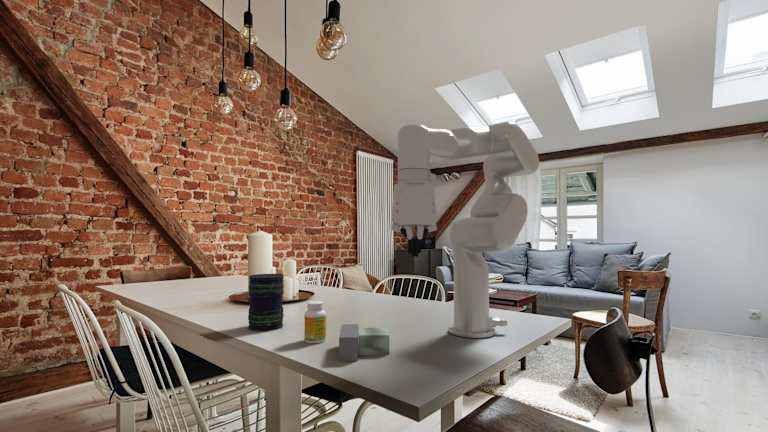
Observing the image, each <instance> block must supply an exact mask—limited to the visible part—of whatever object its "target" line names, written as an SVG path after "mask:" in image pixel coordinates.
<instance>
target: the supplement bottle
mask: <svg viewBox="0 0 768 432" xmlns="http://www.w3.org/2000/svg"><path fill="white" fill-rule="evenodd" d="M306 308H307V309H308V310H306V311H305V312H304V337H303V338H304V342H305V343H307V344H321V343H324V342H326V340H327V339H326V337H327V313H326V311H325V310H324V301H321V300H320V301H319V300H312V301H308V302H307V307H306Z"/></svg>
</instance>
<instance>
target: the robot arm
mask: <svg viewBox="0 0 768 432" xmlns="http://www.w3.org/2000/svg"><path fill="white" fill-rule="evenodd" d="M484 156H486V157H485V158H484V161H483V164H482V165H483V166H482V171H483V176H484V177H483V178H484V182H485V187H484V189H483V190H482V192H480V195H479V196H477V199H476V200H475V201H474V202H473V204H472V206H471V208H470V211H469V216H470V217H463V218H459V219H457V220H455V221H454V222H453V223H451V224H452V225H451V226H450V229H449V240H450V247H451V251H452V259H453V260H452V261H453V324H450V325H449V326H448V328H447V329H448V332H449V334H452V335H453V336H457V337H461V338H471V339H485V338H490V337H493V336H494V335H496V329H495V328H496V327H507V326H508V321H507V319H506V318H499V317H492V316H491V315H490V283H489V281H490V273H489V265H488V263H487V262H488V261H486V258H485V257H484V256H483V254H482V253H486V254H502V253H506V252H508V251H509V250H510V249H511V248H512V247H513V245H514V244H515V241H516V240H517V238H518V236H519V235H520V233H521V231H522V229H523V228H524V226H525V224H526V222H527V218H528V212H529V211H528V209H529V208H528V203H527V201H526V199H525V198H524V197H523V196H522V195H521V194H518V193H514V192H513V191H512V188H511V186H510V185H509V184H508V182H507V181H505V178H511V177H522V176H529V175H532V174H534V173H535V172H536V171H538V168H539V164H540V159H539V155H538V152H537V150H536V148H535V147H534V145H533V143H532V142H531V140H530V139H529V138H528V136H527V134H526V133H525V132H524V130H523V129H522V128H521V127H520V126H519V125H518V124H517V123H516V122H513V121H503V122H500V123H494V124H490V125H484V126H483V125H482V126H466V127H465V126H464V127H463V126H462V127H459V128H454V129H451V130H448V129H444V128H428V127H426V126H425V125H422V124H407V125H403V126H401V127H400V128H399V129H398V132H397V183H395V184H394V187H393V192H392V205H391V206H392V207H391V221H392V224H391V227H390V229H391V231H393V232H397V233H401V234H402V236H403V237H405V238H406V239H407V240H406V241H407V245H406V246H407V254H409V256H410V257H411V258H414V257H419V254H421V253H422V239H423V237H425V236H426V235H427V233H431V232H435V231H437V230H438V227H437V223H436V222H437V207H436V206H437V205H436V197H435V195H436V194H435V191H434V186H433V183H431V182H432V181H433V180H436V179H437V175H436V173H433V172H431V170H430V169H431V167H430V163H433V162H442V161H457V160H464V159H472V158H477V157H484ZM412 227H416V233H415V236H413V233H412V232H413V231H412Z"/></svg>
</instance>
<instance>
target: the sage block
mask: <svg viewBox="0 0 768 432" xmlns="http://www.w3.org/2000/svg"><path fill="white" fill-rule="evenodd" d="M380 354H381V355H390V332H389V327H358V356H361V355H364V356H366V355H367V356H368V355H370V356H372V355H375V356H376V355H378V356H379V355H380Z"/></svg>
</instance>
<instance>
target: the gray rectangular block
mask: <svg viewBox="0 0 768 432" xmlns="http://www.w3.org/2000/svg"><path fill="white" fill-rule="evenodd" d="M358 342H359V323H351V324H349V323H348V324H347V323H345V324H344V323H343V324H342V323H341V327H340V332H339V336H338V361H339V362H358V360H359V355H358Z"/></svg>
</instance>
